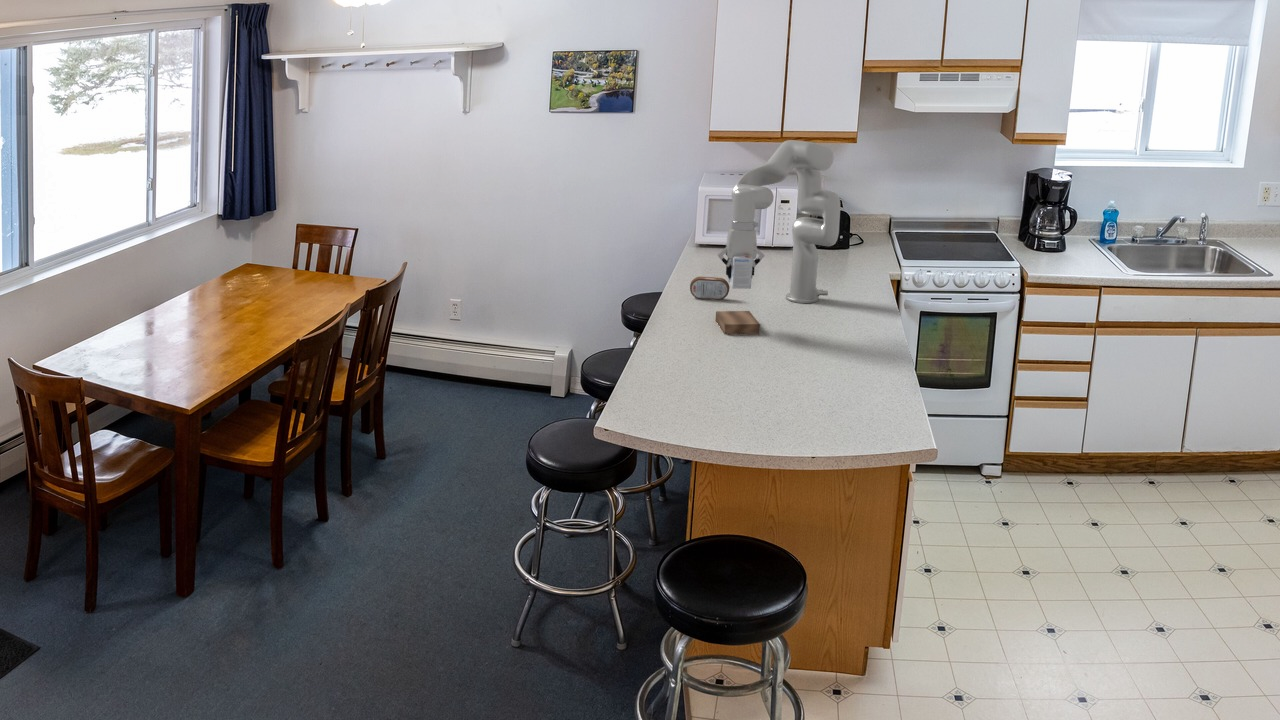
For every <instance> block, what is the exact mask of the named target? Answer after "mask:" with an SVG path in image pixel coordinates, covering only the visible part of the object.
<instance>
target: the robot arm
mask: <svg viewBox="0 0 1280 720" xmlns="http://www.w3.org/2000/svg"><path fill="white" fill-rule="evenodd" d="M833 162H834V152H833V150H832V149H831V148H830V147H829V146H825V145H822V144H821V143H820V144H819V143H816V142H812V141H805V140H795V139H788V140H785V141H783V142H782V143H780V145H779V146H778V147H777V149H776V150H775V151H774V153H773V154H772V155H771V157H770V158H769V159H768V160H767V162H765V163H764V164H762V165H759V166H757V167H755V168H752V169H750V170H749V171H747V172H746V173H744V174H742V176H741V177H740V178H739V180H738V181H737V182H736V184H735V185H734V186H733V189H732V190H731V191H732V192H731V201H732V212H731V228H729V229H728V231H727V237H726V242H725V243H726V244H725V248H723V249H722V250H721V251H719V252H718V253H717V257H718V258H719V259H720V261H722V263H723V264H725V266H726V267H725V275H726V276H727V279H728V278H731V263H732V259H733V256H752V257H753V266H752V276H755V267H756V266H757V265H758V264H759V263H761V260H762V259H764V257H765V254H764V253H763V252H762V251H760V249H759V248H758V245H757V244H758V243H757V232H756V231H757V230H756V229H755V228H756V227H759V222H756V221H755V215H756V214H755V213H756V210H765V209H766V210H767V209H768V208H769V207H771V205H772V204H773V202H774V197H775V196H774V193H773V191H772V190H771V189H770V188H768V187H766V186H767V185H770V186H771V185H775V184H778V183H781V182H783V181H785V180H786V179H787V177H788V175H789V174H790V173H791V172H792V170H793V169H794V170H795V171H796V174H797V178H798V179H797V180H798V181H797V210H798V211H799V212H800V213H801V214H805V215H807V216H802V217H798V218H797V219H795V221H793V223H792V228H791V234H792V244H793V245H792V247H793V248H792V250H793V251H792V261H791V275H790V276H791V277H790V291H789V292H788V293H787V294H785V299H786V300H787V301H789V302H792V303H797V304H813V303H817V302H818V301H820V296H828V295H829V292H828V290H826V289H825V290H824V289H818V288H817V276H818V275H817V274H818V265H819V264H818V263H819V252H818V249H817V247H816V245H818V246H823V247H832V246H834V245H835V244H836V243H837V241H838V239H839V234H840V222H841V221H840V220H841V199H840V196H839V195H838V194H837V193H836V192H835V191H830V190H823V188H822V173H821V171H823V172H824V171H828V170H829V169H830V168H831V167H832V165H833ZM808 215H809V216H810V217H809V216H808ZM811 216H816V217H821V218H815V217H811ZM724 255H726V256H727V259H726V257H724ZM757 255H758V256H757Z"/></svg>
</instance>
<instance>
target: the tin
mask: <svg viewBox="0 0 1280 720" xmlns="http://www.w3.org/2000/svg"><path fill="white" fill-rule="evenodd" d="M689 291H690V294H691V296H693V297H694V298H696V299H699V300H711V299H714V300H713V301H721V300H724V299H725V298H727V296H728V295H729V292H730V283H729V282H728V280H726V278H725V279H724V278H722V277H716V276H713V277H712V276H697V277H695V278H693V279H692V280H691V281H690V284H689Z"/></svg>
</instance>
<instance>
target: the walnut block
mask: <svg viewBox="0 0 1280 720" xmlns="http://www.w3.org/2000/svg"><path fill="white" fill-rule="evenodd" d="M715 323H716V324H717V323H718V324H717V325H718V327H719V326H720V327H719V328H720V330H721V332H722V333H723V334H724V335H725V334H728V335H760V325H761V324H760V322H759V321H758V320H757V319H756V317H755V316H754V315H753V314H752V312H751V311H750V310H727V311H725V310H719V311H718V310H717V311H716V312H715Z"/></svg>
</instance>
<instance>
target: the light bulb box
mask: <svg viewBox="0 0 1280 720" xmlns="http://www.w3.org/2000/svg"><path fill="white" fill-rule="evenodd" d="M753 260H754V259H753V257H752V256H733V259H732V263H731V278H728V277H727V282H728V284H729V286H730V287H731V288H732V289H734V290H735V289H737V290H739V289H740V290H741V289H744V290H746V289H747V290H749V289H752V279H753V275H752V266H753Z"/></svg>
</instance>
